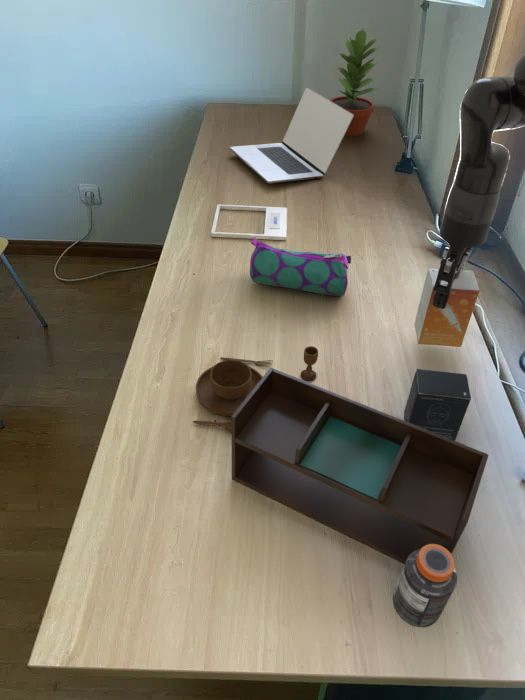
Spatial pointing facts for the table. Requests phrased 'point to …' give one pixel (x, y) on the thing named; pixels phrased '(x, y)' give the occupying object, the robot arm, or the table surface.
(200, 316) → the table surface
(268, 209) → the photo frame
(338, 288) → the pencil case
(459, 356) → the table surface
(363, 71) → the potted plant
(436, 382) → the box
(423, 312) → the small box
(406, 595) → the pill bottle
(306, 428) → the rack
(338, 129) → the laptop
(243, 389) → the place setting
